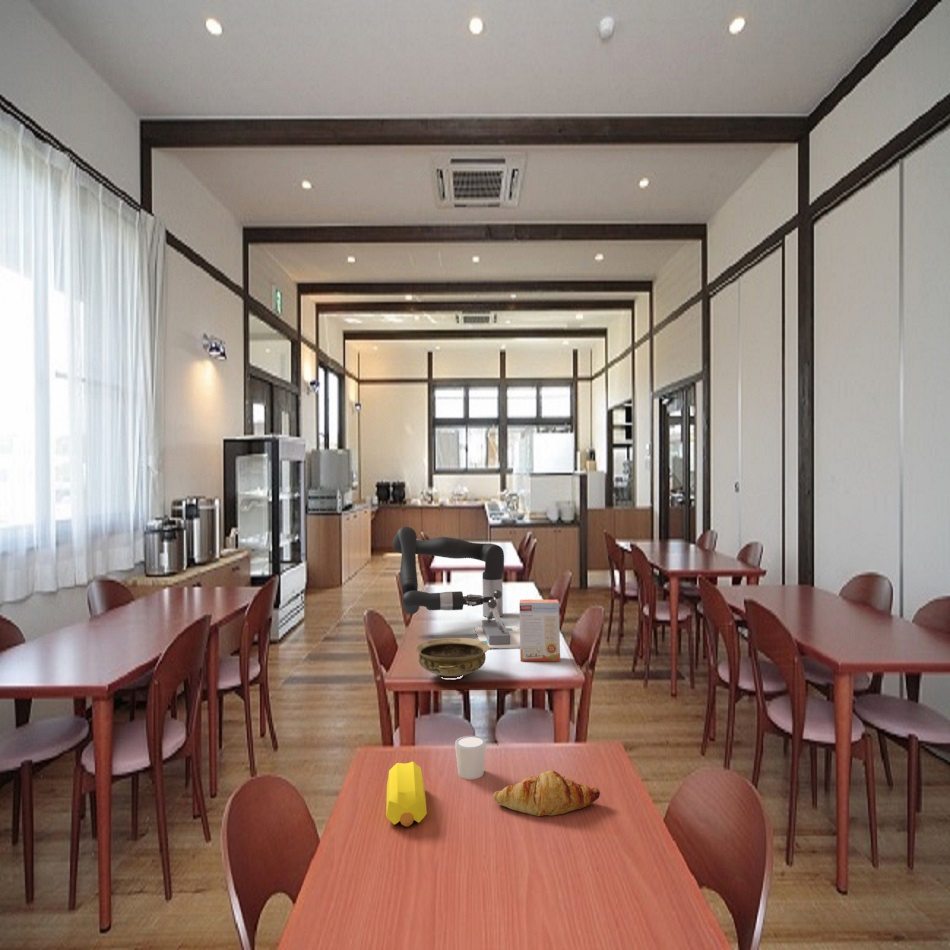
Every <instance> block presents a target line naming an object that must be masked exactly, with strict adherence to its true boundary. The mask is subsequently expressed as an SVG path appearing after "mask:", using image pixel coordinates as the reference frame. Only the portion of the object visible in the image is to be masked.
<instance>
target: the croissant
mask: <svg viewBox="0 0 950 950" xmlns="http://www.w3.org/2000/svg"><path fill="white" fill-rule="evenodd" d="M600 795H601V792H600V790H599V788H597V787H589V786H588V784H585V783H583V782H582V783H581V782H580V783H577V782H576V781H574V780H573V779H571V778H569V777H566V776H562V775H561V774H560V773H559V772H558V771H555V770H550V769H549V770H548V769H546V770H544V771H542V772H539V774H538V775H536V776H529V777H526V778H523V779H522V780H521V781H520V782H517V783H513V784H509V785H507V786H505V787H504V788H503V789H502V790H496V791H495V792H494V793H493V801H494V802H496V803H497V804H498V805H501V806H502V807H506V808H508V809H509V810H512V811H516V812H520V813H523V814H528V815H530V816H531V815H533V816H537V817H542V816H557V815H564V814H566V813H568V812H572V811H575V810H580V809H582V808H585V807H589V806H590V805H591V804H593V803H594V802H596V801H598V799H599V798H600Z"/></svg>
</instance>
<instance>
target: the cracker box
mask: <svg viewBox="0 0 950 950" xmlns="http://www.w3.org/2000/svg"><path fill="white" fill-rule="evenodd" d="M519 630H520V648H519V649H520V650H519V652H520V653H519V654H520V656H519V657H520V662H561V643H560V642H561V637H560V633H561V631H560V602H559V599H520V600H519Z"/></svg>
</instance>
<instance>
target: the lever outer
mask: <svg viewBox="0 0 950 950" xmlns="http://www.w3.org/2000/svg"><path fill="white" fill-rule="evenodd" d="M496 606H497V602H496V600H494V599H490V600H489V601H488V607H489V608H491V609H492V612H493V614H494V617H493V618H494V620H496V622H497V625H498V628H499V630H501V632H502V633H504V626H505V625H504V626H503V624H504V623H503V624H502V622H503V621H502V618H501V617H500V616H499V613H498V610H497V608H496Z"/></svg>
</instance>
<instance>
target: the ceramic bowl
mask: <svg viewBox="0 0 950 950" xmlns="http://www.w3.org/2000/svg"><path fill="white" fill-rule="evenodd" d="M414 650H415V651H416V652H417V653H418V662H419V665H420V666H421V667H422V668H423V669H424V670H426V671H428V672H430V673H431V674H435V675H438V676H440V677H443V678H457V677H460V676H462V675H464V676H465V675H469V674H471V673H474V672H476V671H478V670H479V669H481V668H482V667H483V665H484V664H485V662H486V658H487V657H486V652H487V651H488V650H490V649H489V646H488V644H486V643H484V642H482V641H480V640H478V639H475V638H468V637H442V638H433V639H429V640H425V641H422V642H420V643H418V644H416V645H415V649H414ZM440 677H439V678H440Z"/></svg>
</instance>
